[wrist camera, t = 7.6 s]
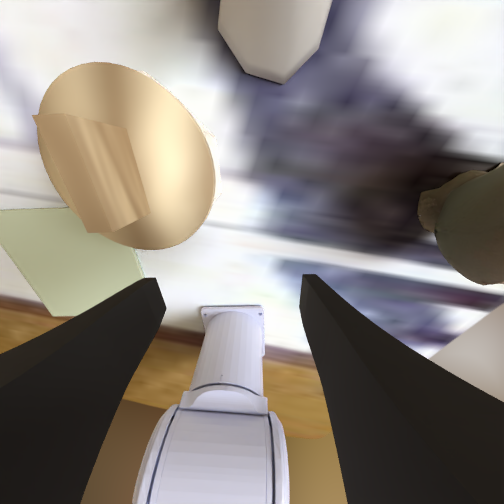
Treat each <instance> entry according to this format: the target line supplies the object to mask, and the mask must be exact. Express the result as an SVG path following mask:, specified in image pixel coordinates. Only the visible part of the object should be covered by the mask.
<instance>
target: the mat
mask: <svg viewBox="0 0 504 504" xmlns="http://www.w3.org/2000/svg"><path fill="white" fill-rule="evenodd" d="M0 244H1V246H2V247H3V248H4V250H5V251H6V252H7V254H8V255H9V257H10V258H11V259H12V261H13V262H14V263H15V265H16V266H17V268H18V269H19V270H20V272H21V273H22V274H23V276H24V277H25V279H26V280H27V281H28V283H29V284H30V286H31V287H32V288H33V290H34V291H35V292H36V294H37V295H38V297H39V298H40V299H41V301H42V302H43V303H44V305H45V306H46V308H47V309H48V310H49V312H50V313H51V314H52V316H77V315H79V314H81V313H83V312H85V311H86V310H88V309H90V308H92V307H94V306H95V305H97V304H99V303H100V302H102V301H104V300H105V299H107V298H109V297H110V296H112V295H114V294H116V293H117V292H119V291H121V290H122V289H124V288H126V287H127V286H129V285H131V284H133V283H135V282H136V281H138V280H140V279H142V278H145V277H144V274H143V271H142V269H141V266H140V263H139V261H138V258H137V255H136V252H135V250H134V248H132V247H128V246H124V245H122V244H119V243H116V242H114V241H112V240H110V239H108V238H106V237H104V236H103V235H101V234H99V233H87V231H86V228H85V226H84V224H83V222H82V220H81V219H80V218H79V217H78V216H77V215H76V214H75V213H74V212H73V211H72V210H71V209H70V208H69V207H66V208H40V209H13V210H0Z"/></svg>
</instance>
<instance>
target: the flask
mask: <svg viewBox="0 0 504 504" xmlns="http://www.w3.org/2000/svg"><path fill="white" fill-rule="evenodd" d="M331 3H332V0H220V10H219V19H218V30H219V32H220V34H221V35H222V37H223V38H224V40H225V41H226V43H227V44H228V46H229V48H230V49H231V51H232V52H233V54H234V55H235V57H236V58H237V60H238V62H239V63H240V65H241V66H242V68H243V69H244V71H245V72H246V73H248V74H251V75H255V76H258V77H261V78H264V79H268V80H271V81H274V82H278V83H281V84H285V83H286V82H287V81H288V80H289V79H290V78H291V77H292V76H293V75H294V74H295V73H296V72H297V70H298V69H299V68H300V67H301V66H302V65H303V64H304V63H305V62H306V61H307V60H308V59H309V58H310V57H311V56H312V55H313V54H314V53H315V52H316V51H317V50H318V48H319V45H320V41H321V38H322V34H323V31H324V27H325V24H326V20H327V17H328V13H329V10H330V6H331Z"/></svg>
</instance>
